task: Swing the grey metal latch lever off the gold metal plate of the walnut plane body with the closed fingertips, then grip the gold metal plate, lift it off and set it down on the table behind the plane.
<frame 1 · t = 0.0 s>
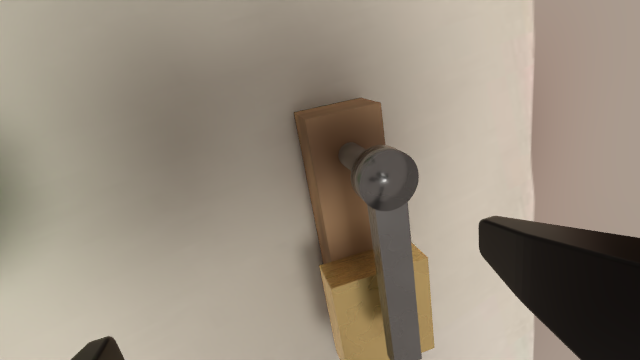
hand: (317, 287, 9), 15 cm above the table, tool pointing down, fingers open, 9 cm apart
lever: (393, 265, 18), point 7 cm above the table, hinge at 0.0°
gold metal plate: (370, 296, 24), point 3 cm above the table, touching plane body
plane body: (349, 237, 26), on the table
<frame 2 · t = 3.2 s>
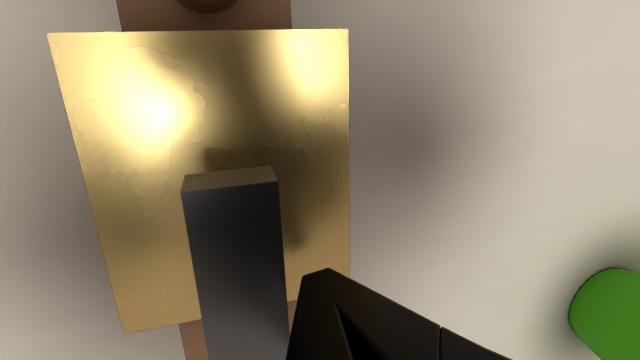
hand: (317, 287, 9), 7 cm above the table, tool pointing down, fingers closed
gold metal plate: (227, 161, 11), point 3 cm above the table, touching plane body
cup: (596, 299, 23), on the table
plane body: (233, 214, 15), on the table
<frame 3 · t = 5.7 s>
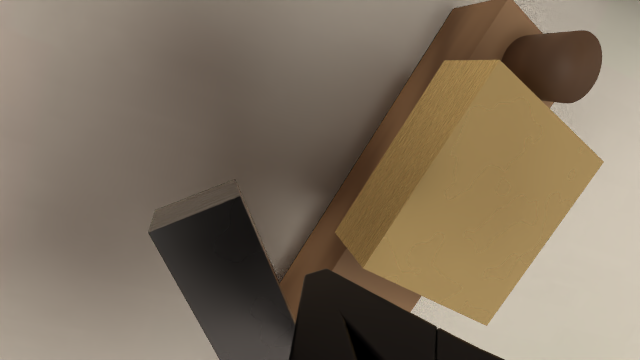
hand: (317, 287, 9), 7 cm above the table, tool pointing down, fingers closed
gold metal plate: (444, 186, 14), point 3 cm above the table, touching plane body
plane body: (369, 220, 17), on the table
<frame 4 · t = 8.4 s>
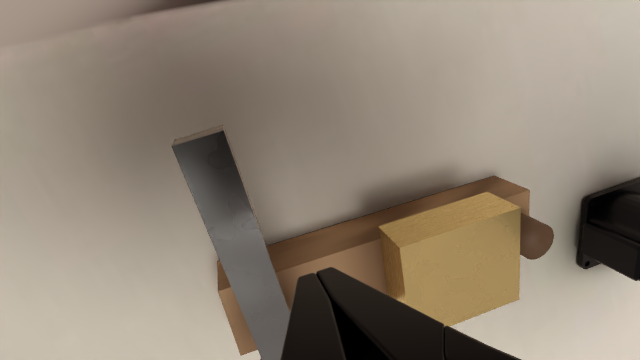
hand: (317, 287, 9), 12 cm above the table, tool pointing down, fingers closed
lever: (258, 287, 14), point 8 cm above the table, hinge at 93.6°
gold metal plate: (438, 253, 21), point 3 cm above the table, touching plane body
plane body: (371, 244, 24), on the table
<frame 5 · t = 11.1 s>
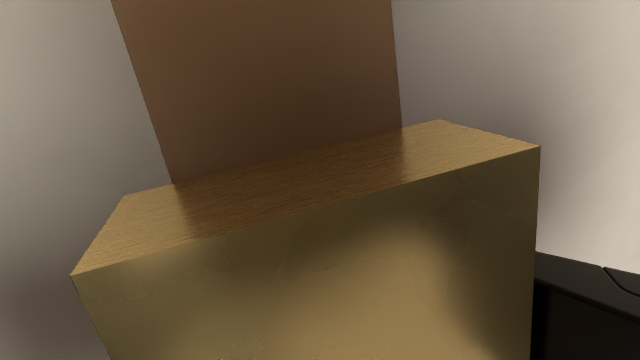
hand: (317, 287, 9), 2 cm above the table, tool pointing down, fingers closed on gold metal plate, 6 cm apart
gold metal plate: (325, 304, 8), point 3 cm above the table, touching gripper, plane body
plane body: (275, 145, 10), on the table
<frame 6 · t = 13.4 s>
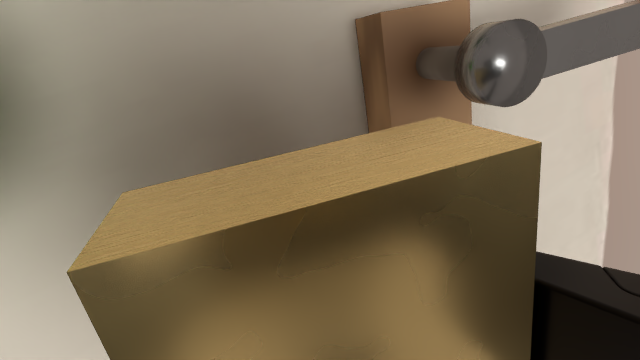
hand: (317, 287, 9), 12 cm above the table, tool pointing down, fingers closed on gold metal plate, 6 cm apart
lever: (607, 32, 13), point 7 cm above the table, hinge at 93.7°
gold metal plate: (325, 302, 8), point 12 cm above the table, touching gripper
plane body: (409, 181, 22), on the table
when the fingers open (1 cm above the table, at t = 15.6 s): gold metal plate drops 2 cm, on the table.
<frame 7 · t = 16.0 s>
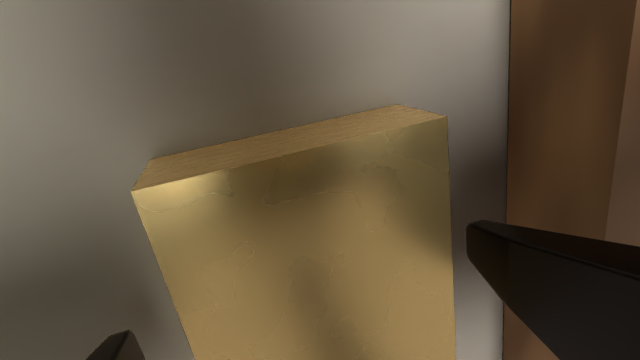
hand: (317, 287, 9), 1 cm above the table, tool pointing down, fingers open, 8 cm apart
gold metal plate: (305, 248, 10), on the table
plane body: (557, 272, 13), on the table
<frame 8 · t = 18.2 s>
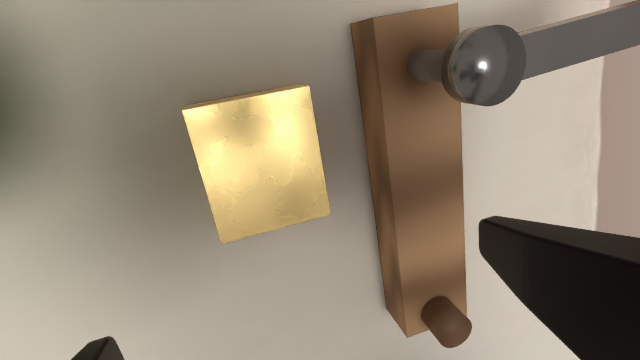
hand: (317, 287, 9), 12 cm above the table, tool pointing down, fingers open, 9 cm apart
lever: (584, 37, 14), point 8 cm above the table, hinge at 93.4°
gold metal plate: (258, 155, 20), on the table
plane body: (403, 178, 23), on the table
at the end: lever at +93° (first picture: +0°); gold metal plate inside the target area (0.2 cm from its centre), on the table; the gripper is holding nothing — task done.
